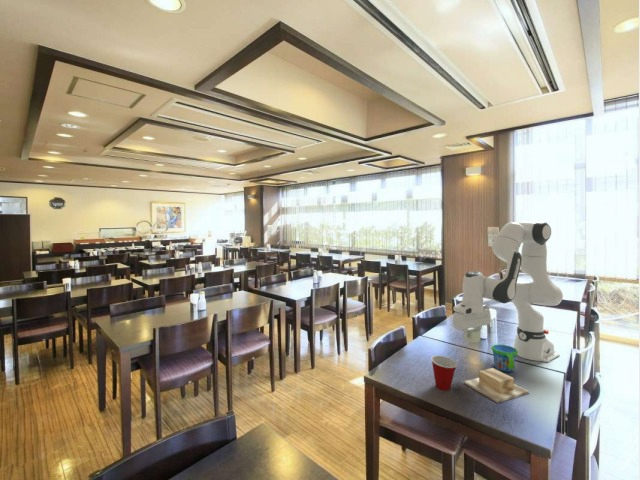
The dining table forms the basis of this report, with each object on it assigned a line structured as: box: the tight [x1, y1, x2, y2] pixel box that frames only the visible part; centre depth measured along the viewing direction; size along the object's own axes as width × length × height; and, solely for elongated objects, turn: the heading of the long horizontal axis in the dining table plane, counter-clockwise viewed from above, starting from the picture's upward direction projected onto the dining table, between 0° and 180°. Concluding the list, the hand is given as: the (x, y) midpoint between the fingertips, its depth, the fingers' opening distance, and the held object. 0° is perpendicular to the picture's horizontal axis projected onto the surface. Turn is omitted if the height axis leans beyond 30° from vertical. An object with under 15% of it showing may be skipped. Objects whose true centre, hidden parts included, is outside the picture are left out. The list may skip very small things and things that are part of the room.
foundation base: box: [464, 367, 530, 404], centre depth 134 cm, size 18×16×6 cm
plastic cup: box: [430, 355, 459, 392], centre depth 135 cm, size 11×11×12 cm
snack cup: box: [491, 344, 518, 373], centre depth 151 cm, size 16×10×10 cm
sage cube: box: [463, 327, 482, 344], centre depth 146 cm, size 5×5×5 cm
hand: (471, 335), depth 146 cm, fingers closed on sage cube, 5 cm apart
